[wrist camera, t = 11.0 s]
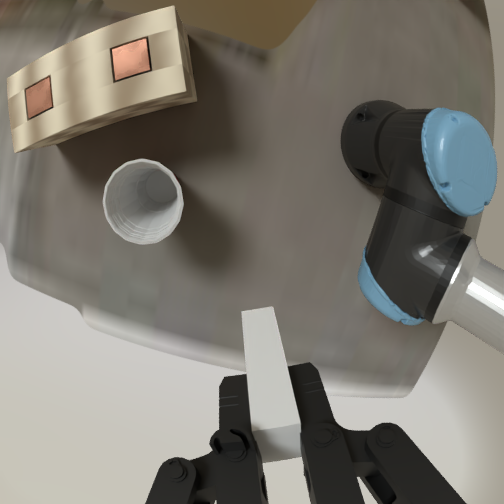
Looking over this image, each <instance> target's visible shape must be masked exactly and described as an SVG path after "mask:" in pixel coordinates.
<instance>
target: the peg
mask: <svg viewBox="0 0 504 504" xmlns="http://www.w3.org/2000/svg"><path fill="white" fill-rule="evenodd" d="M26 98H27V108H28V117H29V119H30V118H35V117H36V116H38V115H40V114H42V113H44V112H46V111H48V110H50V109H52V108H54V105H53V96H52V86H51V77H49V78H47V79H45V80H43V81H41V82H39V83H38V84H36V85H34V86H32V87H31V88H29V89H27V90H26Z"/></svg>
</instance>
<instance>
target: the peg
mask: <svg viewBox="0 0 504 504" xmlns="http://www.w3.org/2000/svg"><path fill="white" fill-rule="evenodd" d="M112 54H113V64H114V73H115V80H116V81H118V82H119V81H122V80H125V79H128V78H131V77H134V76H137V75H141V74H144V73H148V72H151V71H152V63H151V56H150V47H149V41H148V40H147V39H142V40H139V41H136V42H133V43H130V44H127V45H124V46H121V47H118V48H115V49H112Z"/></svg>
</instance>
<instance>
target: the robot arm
mask: <svg viewBox="0 0 504 504" xmlns="http://www.w3.org/2000/svg"><path fill="white" fill-rule="evenodd" d="M341 149H342V154H343V157H344V160H345V162H346V164H347V166H348V168H349V169H350V170H351V172H352V173H353V174H354V175H355V176H356V177H357V178H358V179H360V180H361V181H363V182H365V183H367V184H369V185H371V186H374V187H378V188H385V191H384V194H383V197H382V200H381V204H380V207H379V210H378V213H377V216H376V219H375V222H374V225H373V228H372V231H371V234H370V237H369V240H368V242H367V245H366V247H365V248H364V250H363V258H362V262H361V265H360V268H359V271H358V282H359V284H360V289H361V291H362V293H363V294H364V296H365V297H366V298H367V300H368V301H369V302H370V303H371V304H372V305H373V306H374V307H375V308H376V309H377V310H378V311H380V312H381V313H382V314H384V315H385V316H387V317H388V318H390V319H392V320H394V321H396V322H399V321H401V322H402V323H403V324H405V325H418V324H420V323H421V322H423V321H424V320H425V319H426V320H428V321H429V322H431V323H433V324H438V323H441V322H445V321H453V322H455V323H456V324H457V325H459V326H461V327H462V328H464V329H465V330H467V331H468V332H470V333H472V334H473V335H475V336H476V337H478V338H479V339H481V340H482V341H484V342H485V343H487V344H489V345H490V346H492V347H493V348H495V349H496V350H498V351H499V352H501V353H502V354H504V270H503V269H501V268H499V267H497V266H496V265H494V264H492V263H490V262H489V261H487V260H485V259H483V258H482V257H481V256H480V254H479V251H478V248H477V245H476V242H475V240H474V239H472V238H471V237H469V236H467V235H465V234H463V229H464V226H465V223H466V220H467V217H468V216H475V215H477V214H479V213H481V212H482V211H483V210H484V205H488V204H489V203H490V201H491V199H492V196H493V194H494V191H495V187H496V181H497V161H496V155H495V151H494V149H493V147H492V143H491V139H490V137H489V135H488V133H487V132H486V130H485V129H484V127H483V126H482V125H481V124H480V123H479V122H478V121H477V120H476V119H475V118H474V117H472V116H471V115H469V114H467V113H464V112H461V111H454V110H450V109H446V108H436V109H405V108H403V107H401V106H400V105H398V104H396V103H393V102H390V101H385V100H376V101H369V102H365V103H363V104H361V105H359V106H357V107H356V108H355V109H354V110H353V111H352V112H351V113H350V114H349V116H348V117H347V119H346V121H345V123H344V125H343V129H342V133H341ZM242 324H243V336H244V348H245V360H246V372H247V374H243V375H235V376H228V377H224V379H223V380H222V383H221V385H220V386H219V398H220V399H219V407H220V408H219V430H217V431H216V432H215V433H214V434H213V436H212V437H211V439H210V443H209V444H210V446H211V448H212V449H213V451H211V452H210V453H209V454H207V455H204V456H202V457H199V458H196V459H193V460H187V459H185V458H179V457H175V458H171V459H168V460H167V461H165V462H164V463H163V464H162V465H161V467H160V468H159V470H158V473H157V475H156V478H155V480H154V483H153V485H152V488H151V490H150V493H149V495H148V498H147V501H146V503H145V504H214V503H215V500H217V504H268V496H267V489H266V481H265V475H264V472H263V465H262V463H266V462H273V461H280V460H286V459H292V458H296V457H302V459H303V464H304V476H305V478H306V483H307V488H308V492H309V497H310V502H311V504H365V503H364V499H363V496H362V493H361V489H360V487H359V483H358V480H357V477H360V478H361V480H362V481H363V483H364V484H365V485H366V487H367V488H368V490H369V491H370V493H371V494H372V496H373V497H374V499H375V500H376V501H377V503H378V504H466V503H465V502H464V501H463V499H462V498H461V497H460V496H459V495H458V493H456V491H455V490H454V489H453V488H452V486H451V485H450V484H449V483H448V482H447V481H446V480H445V478H444V477H443V476H442V475H441V474H440V472H439V471H438V470H437V469H436V468H435V467H434V466H433V464H432V463H431V462H430V461H429V460H428V459H427V457H426V456H425V455H424V454H423V453H422V452H421V450H419V448H418V447H417V446H416V445H415V444H414V442H413V441H412V440H411V439H410V438H409V436H408V435H407V434H406V433H405V432H404V431H403V430H402V428H400V427H399V426H398V425H396V424H393V423H381V424H379V425H376V426H375V427H373V428H372V429H371V430H369V431H354V430H348V429H345V428H343V427H341V426H340V425H339V424H338V423H337V422H336V421H335V419H334V417H333V413H332V411H331V407H330V404H329V401H328V399H327V395H326V392H325V390H324V386H323V384H322V381H321V378H320V375H319V372H318V370H317V369H316V368H315V367H314V366H313V365H312V364H311V363H310V362H308V363H304V364H299V365H293V366H288V367H287V363H286V359H285V355H284V351H283V346H282V342H281V338H280V334H279V330H278V325H277V321H276V317H275V313H274V309H273V306H272V307H267V308H261V309H255V310H248V311H242Z"/></svg>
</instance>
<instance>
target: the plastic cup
mask: <svg viewBox="0 0 504 504" xmlns="http://www.w3.org/2000/svg"><path fill="white" fill-rule="evenodd" d="M183 205H184V203H183V197H182V190H181V186H180V185H179V181H178V179H177V177H176V176H175V174H174V173H172V172H171V171H170V170H169V169H167V168H166V167H165V166H163V165H162V164H160V163H159V162H156V161H151V160H147V159H138V160H133V161H129V162H126V163H125V164H123V165H122V166H120V167H119V168H118V169H116V170H115V171H114V172H113V174H112V175H111V177H110V178H109V180H108V182H107V184H106V185H105V190H104V197H103V206H104V211H105V216H106V219H107V220H108V222H109V224H110V225H111V227H112V228H113V230H114V231H115V232H116V233H117V234H119V235H120V236H121V237H122V238H124V239H125V240H126V241H130V242H133V243H137V244H141V245H144V244H151V243H157V242H159V241H160V240H162V239H164V238H165V237H167V236H169V235H170V234H171V233H172V231H173V230H174V229H175V227H176V226H177V224H178V223H179V222H180V218H181V214H182V210H183Z"/></svg>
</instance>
